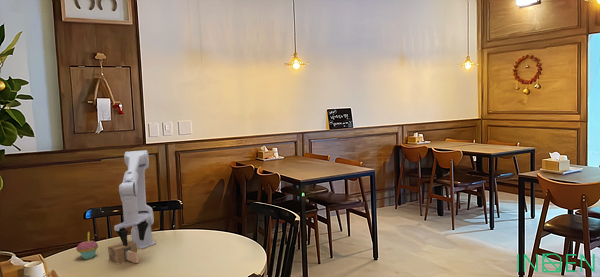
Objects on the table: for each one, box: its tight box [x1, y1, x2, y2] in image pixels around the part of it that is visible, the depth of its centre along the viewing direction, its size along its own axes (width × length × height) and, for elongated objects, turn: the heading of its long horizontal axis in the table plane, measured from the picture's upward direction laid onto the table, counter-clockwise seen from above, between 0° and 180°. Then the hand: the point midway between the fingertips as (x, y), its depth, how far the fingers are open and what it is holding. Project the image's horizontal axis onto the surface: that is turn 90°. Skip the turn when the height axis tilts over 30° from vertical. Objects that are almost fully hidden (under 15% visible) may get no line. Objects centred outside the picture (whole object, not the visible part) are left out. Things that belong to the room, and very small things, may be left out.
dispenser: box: [107, 239, 138, 265], centre depth 190 cm, size 8×9×6 cm
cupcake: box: [75, 231, 99, 260], centre depth 193 cm, size 9×8×12 cm
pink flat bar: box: [124, 250, 140, 264], centre depth 187 cm, size 12×1×4 cm, turn 53°
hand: (133, 242), depth 184 cm, fingers open, 7 cm apart
